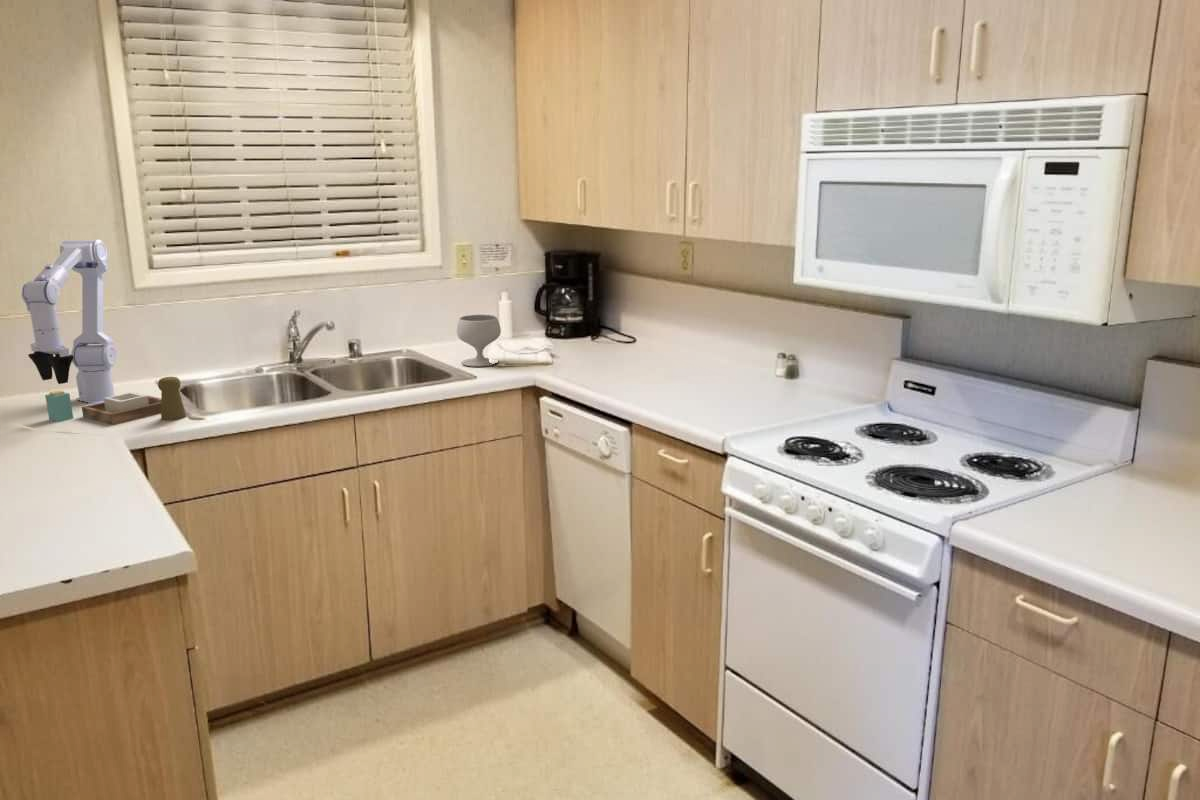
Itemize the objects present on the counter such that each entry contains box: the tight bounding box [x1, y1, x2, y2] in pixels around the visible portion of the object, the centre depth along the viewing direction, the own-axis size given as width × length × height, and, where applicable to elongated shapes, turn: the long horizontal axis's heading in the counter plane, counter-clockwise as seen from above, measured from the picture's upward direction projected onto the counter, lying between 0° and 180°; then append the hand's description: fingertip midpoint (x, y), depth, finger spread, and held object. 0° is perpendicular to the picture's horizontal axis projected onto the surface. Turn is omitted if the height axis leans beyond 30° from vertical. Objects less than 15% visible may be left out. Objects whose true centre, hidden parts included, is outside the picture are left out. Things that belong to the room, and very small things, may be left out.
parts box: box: [81, 394, 161, 426], centre depth 242 cm, size 14×16×3 cm
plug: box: [44, 390, 74, 423], centre depth 237 cm, size 4×4×8 cm
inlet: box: [104, 391, 149, 413], centre depth 241 cm, size 8×8×4 cm
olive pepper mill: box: [157, 376, 187, 422], centre depth 236 cm, size 6×6×11 cm
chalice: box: [456, 314, 502, 368], centre depth 296 cm, size 14×14×15 cm
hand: (55, 381), depth 235 cm, fingers open, 7 cm apart
